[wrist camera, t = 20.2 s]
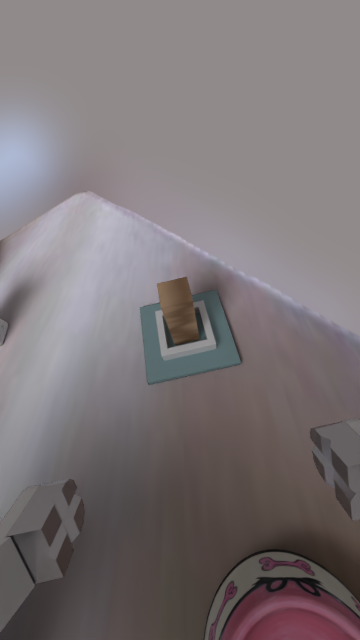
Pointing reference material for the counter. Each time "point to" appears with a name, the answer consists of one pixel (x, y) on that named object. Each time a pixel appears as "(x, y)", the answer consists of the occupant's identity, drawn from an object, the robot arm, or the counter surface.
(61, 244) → the counter surface
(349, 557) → the counter surface
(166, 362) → the socket plate
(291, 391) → the counter surface
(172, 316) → the walnut block
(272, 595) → the dog bowl
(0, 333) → the syrup box
